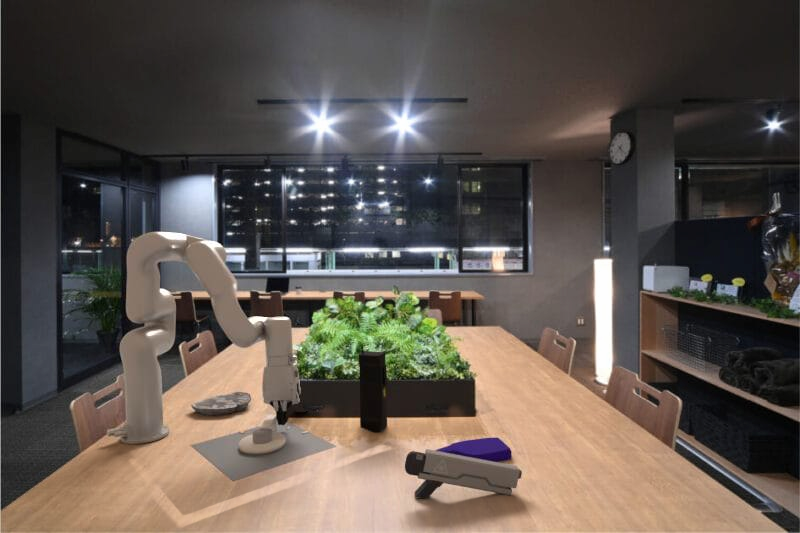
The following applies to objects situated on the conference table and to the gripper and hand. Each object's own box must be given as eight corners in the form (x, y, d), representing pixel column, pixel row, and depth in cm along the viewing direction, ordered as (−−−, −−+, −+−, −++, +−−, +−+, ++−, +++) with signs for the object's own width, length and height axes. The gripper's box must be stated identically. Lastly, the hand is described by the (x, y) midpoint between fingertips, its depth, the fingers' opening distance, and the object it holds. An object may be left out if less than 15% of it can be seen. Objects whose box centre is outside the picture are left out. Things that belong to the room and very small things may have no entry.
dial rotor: (280, 453, 124) (280, 438, 124) (232, 455, 124) (232, 439, 123) (293, 427, 142) (293, 414, 142) (252, 428, 142) (251, 415, 141)
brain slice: (213, 422, 153) (213, 413, 153) (185, 412, 163) (184, 403, 163) (265, 406, 168) (265, 397, 168) (236, 397, 179) (235, 389, 179)
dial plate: (233, 487, 110) (233, 480, 110) (190, 450, 131) (190, 444, 131) (336, 451, 129) (336, 445, 129) (284, 424, 150) (284, 418, 150)
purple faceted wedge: (497, 434, 132) (409, 445, 126) (515, 451, 121) (420, 463, 116) (497, 445, 132) (409, 457, 127) (515, 462, 121) (420, 476, 116)
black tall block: (391, 426, 147) (389, 343, 146) (384, 433, 141) (382, 347, 140) (367, 423, 149) (365, 342, 148) (359, 430, 144) (357, 346, 143)
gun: (398, 489, 106) (408, 444, 105) (509, 510, 107) (519, 466, 107) (399, 495, 103) (408, 449, 103) (513, 516, 105) (523, 471, 104)
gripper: (309, 357, 142) (312, 419, 143) (260, 357, 144) (264, 418, 145) (299, 363, 135) (303, 428, 135) (249, 363, 137) (252, 427, 138)
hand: (282, 423), depth 140 cm, fingers closed
